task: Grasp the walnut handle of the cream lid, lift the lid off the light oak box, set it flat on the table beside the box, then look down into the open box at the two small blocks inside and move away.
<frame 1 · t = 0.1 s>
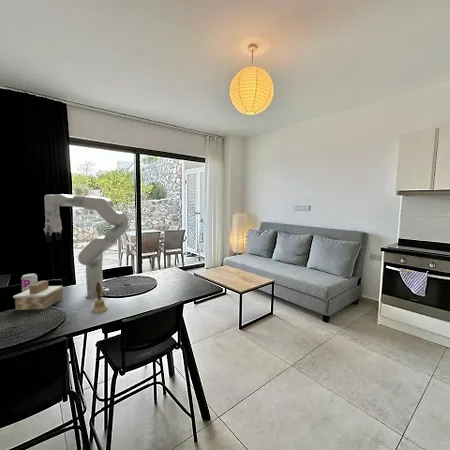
hand: (54, 240, 161), 37 cm above the table, tool pointing down, fingers open, 9 cm apart
hand bell: (99, 310, 139), on the table
box: (40, 305, 148), on the table
supplement can: (30, 298, 162), on the table
grey block: (30, 306, 145), point 1 cm above the table, touching box
lid: (39, 292, 148), point 8 cm above the table, touching box
terracotta block: (48, 301, 151), point 1 cm above the table, touching box
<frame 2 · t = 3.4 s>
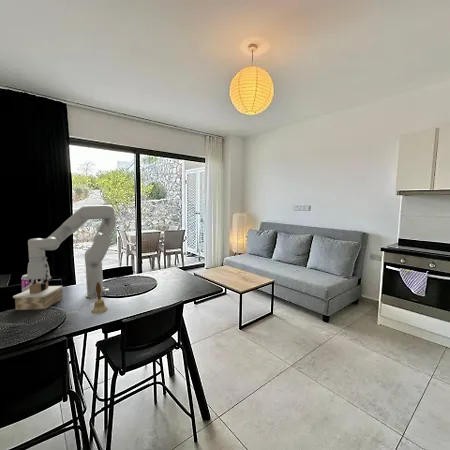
hand: (39, 289, 148), 10 cm above the table, tool pointing down, fingers closed on lid, 4 cm apart
lid: (39, 292, 148), point 8 cm above the table, touching box, gripper
everything else where it was.
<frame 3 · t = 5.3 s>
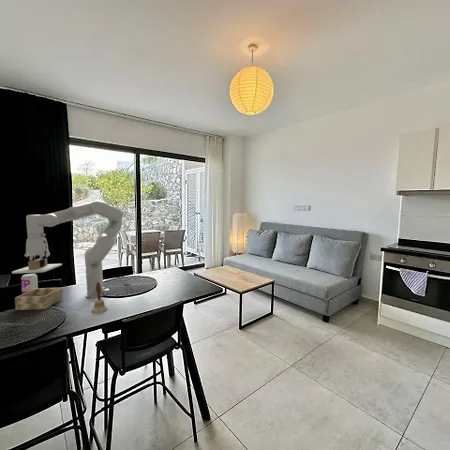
hand: (38, 266, 147), 23 cm above the table, tool pointing down, fingers closed on lid, 4 cm apart
lid: (38, 269, 147), point 22 cm above the table, touching gripper
everything else where it was.
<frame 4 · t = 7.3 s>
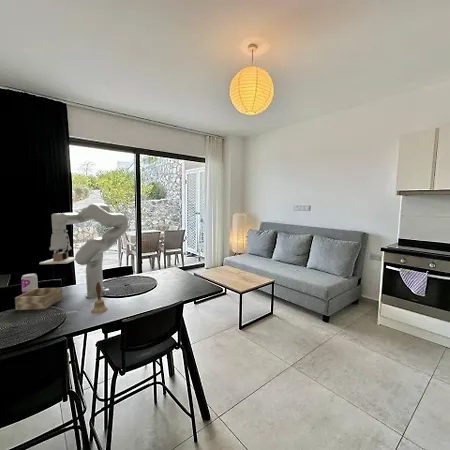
hand: (61, 258, 168), 24 cm above the table, tool pointing down, fingers closed on lid, 4 cm apart
lid: (61, 261, 168), point 22 cm above the table, touching gripper
everything else where it was.
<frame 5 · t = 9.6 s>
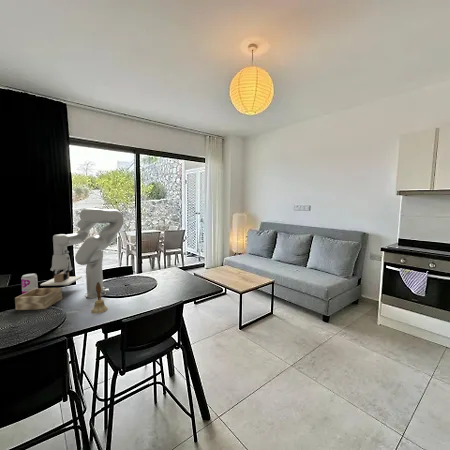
hand: (61, 279, 169), 10 cm above the table, tool pointing down, fingers closed on lid, 4 cm apart
lid: (62, 281, 169), point 8 cm above the table, touching gripper
everything else where it was.
when the fingers open (3 cm above the table, at t = 11.4 s): lid drops 2 cm, on the table.
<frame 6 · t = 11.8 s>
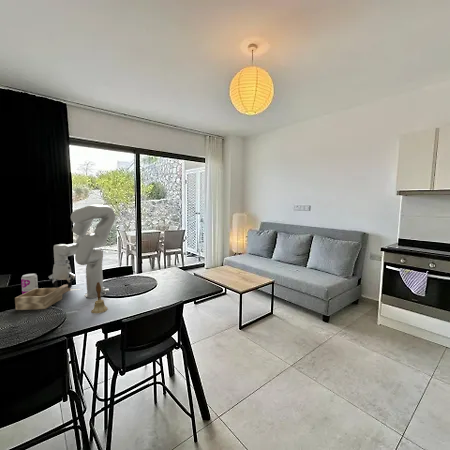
hand: (62, 287, 169), 4 cm above the table, tool pointing down, fingers open, 8 cm apart
lid: (63, 294, 169), on the table
everything else where it was.
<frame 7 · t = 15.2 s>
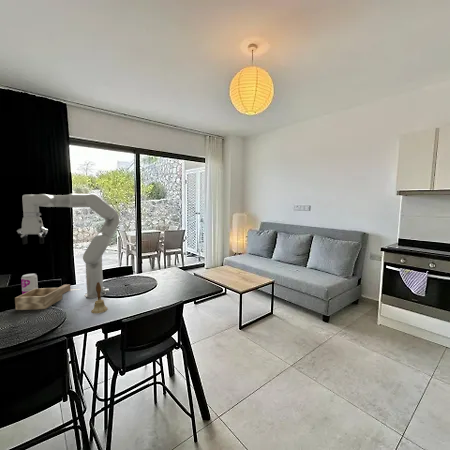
hand: (33, 243, 151), 36 cm above the table, tool pointing down, fingers open, 9 cm apart
nothing on the table moved.
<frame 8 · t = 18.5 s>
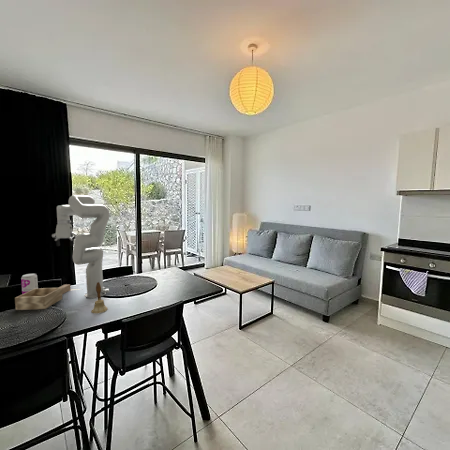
hand: (65, 245, 183), 30 cm above the table, tool pointing down, fingers open, 9 cm apart
nothing on the table moved.
at the end: lid touching table; lid inside the target area (0.1 cm from its centre), on the table; lid tilted 0° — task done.
